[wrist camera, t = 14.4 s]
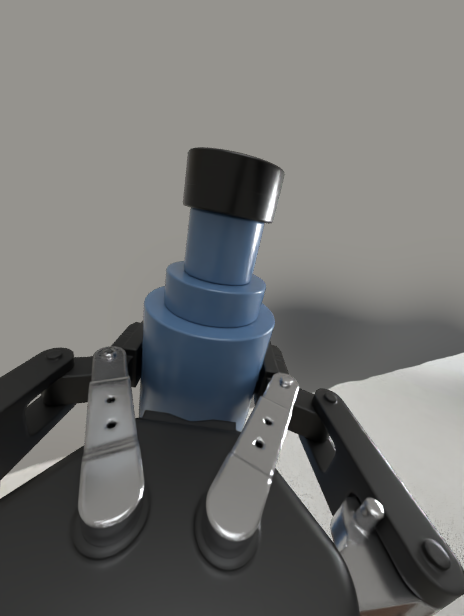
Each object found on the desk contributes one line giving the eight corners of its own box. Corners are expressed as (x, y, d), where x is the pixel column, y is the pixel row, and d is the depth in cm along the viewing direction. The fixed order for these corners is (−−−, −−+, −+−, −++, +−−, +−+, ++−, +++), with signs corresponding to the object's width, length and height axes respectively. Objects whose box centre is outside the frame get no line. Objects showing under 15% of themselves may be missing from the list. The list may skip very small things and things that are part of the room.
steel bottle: (193, 439, 20) (242, 178, 12) (236, 504, 17) (349, 186, 8) (122, 480, 17) (125, 139, 8) (157, 578, 13) (223, 119, 5)
